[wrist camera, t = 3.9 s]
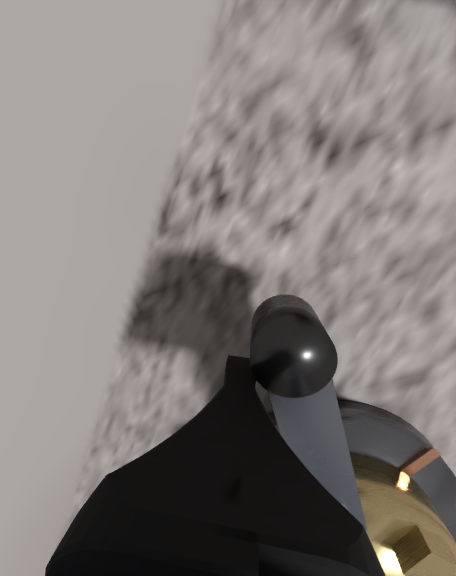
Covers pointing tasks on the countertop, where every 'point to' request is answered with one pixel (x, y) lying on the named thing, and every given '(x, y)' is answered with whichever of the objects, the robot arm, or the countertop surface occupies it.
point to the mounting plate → (399, 453)
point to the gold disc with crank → (342, 442)
